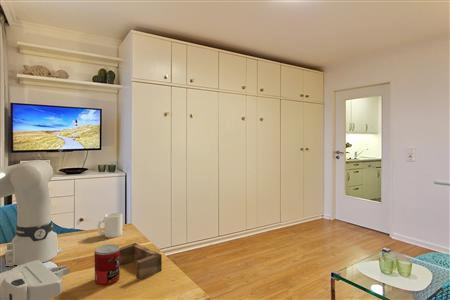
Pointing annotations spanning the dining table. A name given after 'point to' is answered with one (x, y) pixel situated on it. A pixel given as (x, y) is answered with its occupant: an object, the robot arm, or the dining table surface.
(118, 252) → the canned food
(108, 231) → the cup
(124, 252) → the corral
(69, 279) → the dining table surface
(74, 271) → the dining table surface
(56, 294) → the robot arm
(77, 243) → the dining table surface
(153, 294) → the dining table surface
